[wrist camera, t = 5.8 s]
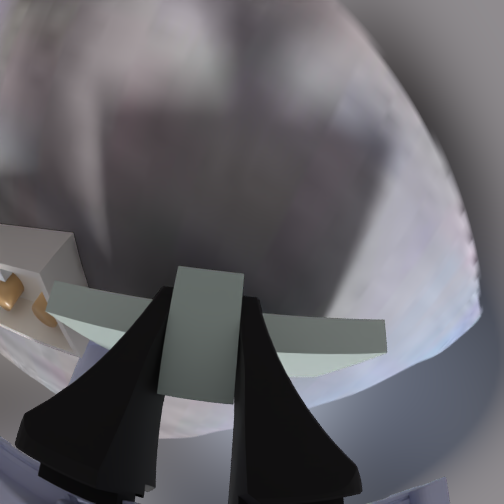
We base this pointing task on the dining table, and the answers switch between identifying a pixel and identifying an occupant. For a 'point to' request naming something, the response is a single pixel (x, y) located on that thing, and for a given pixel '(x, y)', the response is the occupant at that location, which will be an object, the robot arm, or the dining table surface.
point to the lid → (216, 333)
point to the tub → (38, 284)
